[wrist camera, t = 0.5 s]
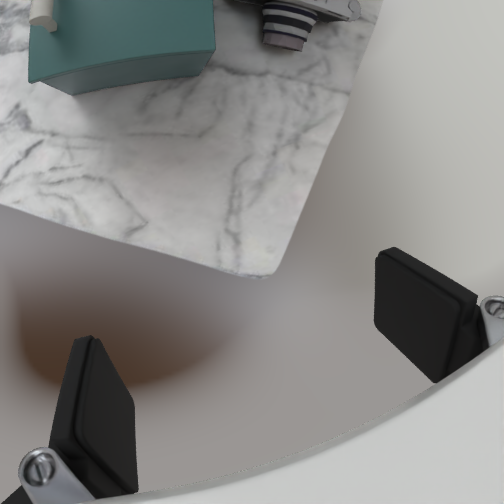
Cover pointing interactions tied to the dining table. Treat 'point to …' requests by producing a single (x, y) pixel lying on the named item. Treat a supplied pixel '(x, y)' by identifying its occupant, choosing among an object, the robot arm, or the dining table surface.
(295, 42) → the camera
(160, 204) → the dining table surface
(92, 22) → the cooler lid
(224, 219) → the dining table surface
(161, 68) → the box
